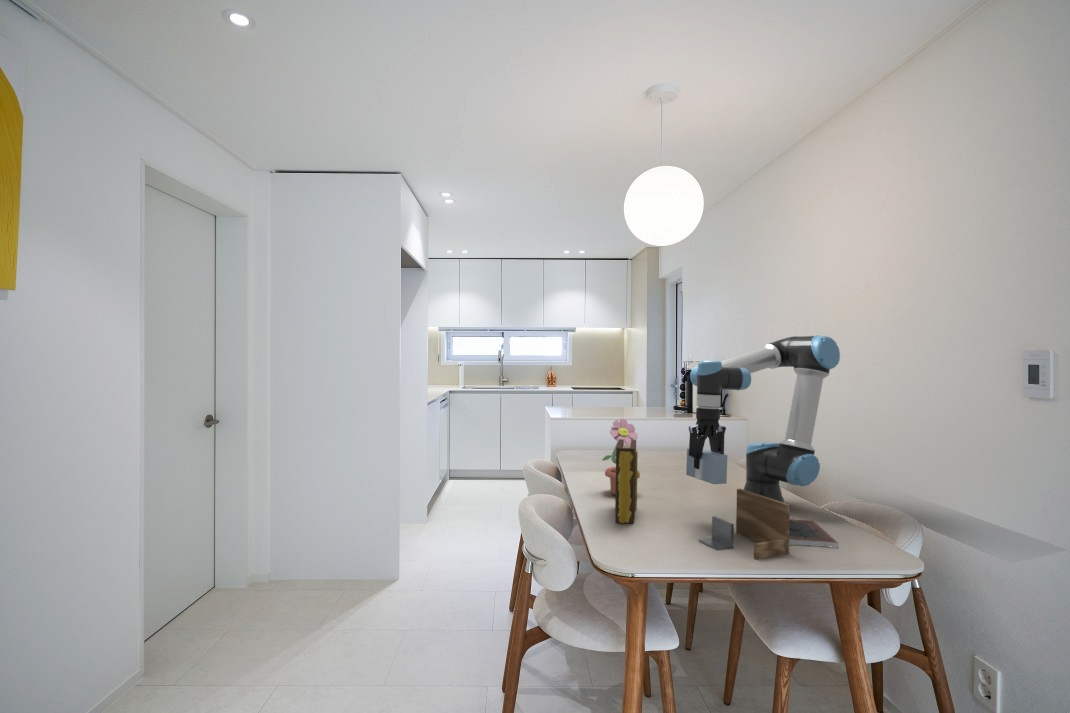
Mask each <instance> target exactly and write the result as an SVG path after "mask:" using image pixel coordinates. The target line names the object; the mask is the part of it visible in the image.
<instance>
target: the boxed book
mask: <svg viewBox="0 0 1070 713" xmlns="http://www.w3.org/2000/svg"><path fill="white" fill-rule="evenodd" d="M701 459H703V470H702V479H701V481H703V482H706V483H709V484H711V485H724V484H727V479H728V478H727V477H728V455H727V454H725V453H724V454H720V453H717V452H713V451H711V450H708V449H705V448H703V451H702V455H701ZM685 471H686V472H685V475H686V476H688V477H692V478H694V479H696V478H695V468H694V458H693V457H691V456H689V447H687V448H686V470H685Z"/></svg>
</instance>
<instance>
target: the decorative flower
mask: <svg viewBox="0 0 1070 713" xmlns="http://www.w3.org/2000/svg"><path fill="white" fill-rule="evenodd" d="M612 425H613V426H611V428H610V430H609V434H610V435H611V437H612V438H613V439H614V440H615V441H616V443H615V446H614V448H613V451H612V453H611V454H609V455H605V456H604V457H603V458H602V460H601V461H603V462H604V461H609V459H610V460H611V462H612V463H613V464H615V465H616V446H617V443H618V440H619V439H623V440H624V445H631V440H636V441H637V439H638V435H639V434H638V433H637V432H636V428H635V426H634V424H632V423H628V420H627V419H625V418H620V419H615V420H614V421H613V422H612ZM615 471H616V466H612V467H608V468H606V469H605V471H604V475H605V477H607V478H609V484H610V492H611V494H612V495H614V496H615V494H616V476H615ZM640 477H641V473H640V472H639V478H640Z"/></svg>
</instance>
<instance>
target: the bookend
mask: <svg viewBox="0 0 1070 713" xmlns="http://www.w3.org/2000/svg"><path fill="white" fill-rule="evenodd" d="M734 524H735V523H733V522H731V521H729V520H726V519H723V518H721V517H718V516H716V515H712V516H711V537H706V538H699V539H698V542H700V543H702V544H704V545H706V546H708V547H710V548H712V549H714V550H716V551H720V550H726V549H727V550H728V549H733V548H734V534H735V533H734V532H735V530H734V528H735V527H734V526H735V525H734Z"/></svg>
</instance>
